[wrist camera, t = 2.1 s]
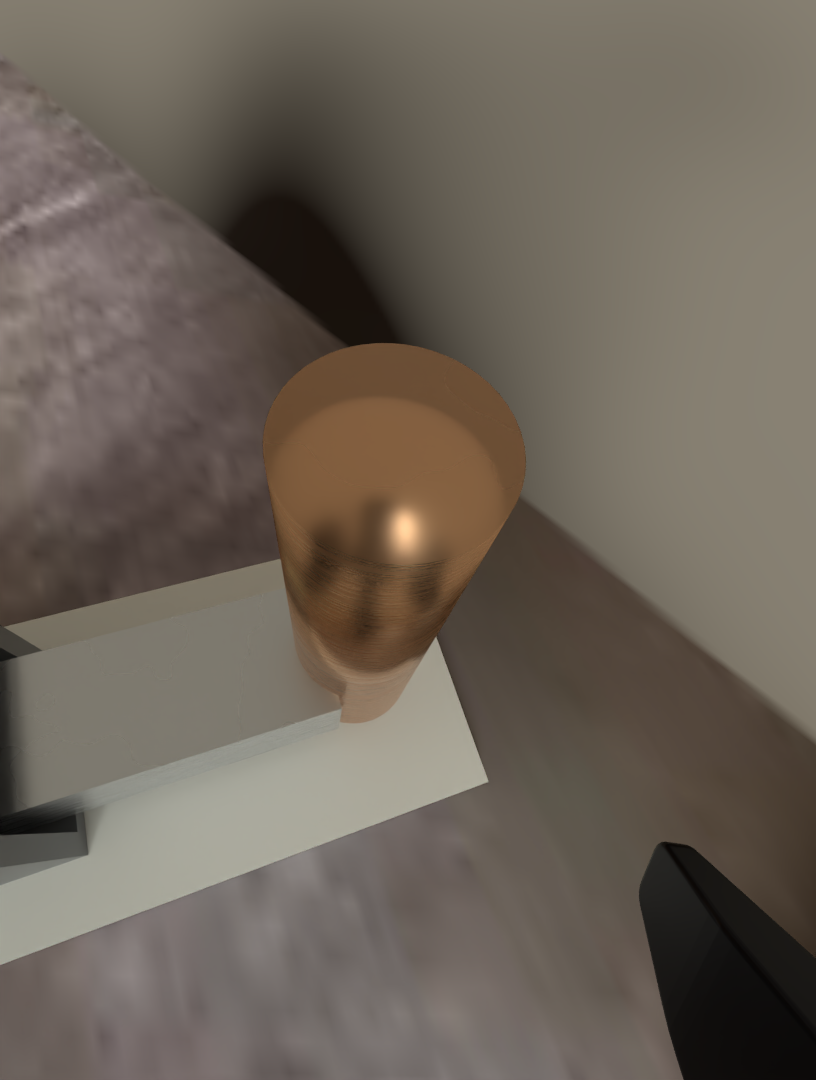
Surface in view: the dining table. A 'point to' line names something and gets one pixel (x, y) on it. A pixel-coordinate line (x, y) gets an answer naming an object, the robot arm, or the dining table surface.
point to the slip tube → (285, 593)
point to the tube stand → (221, 788)
